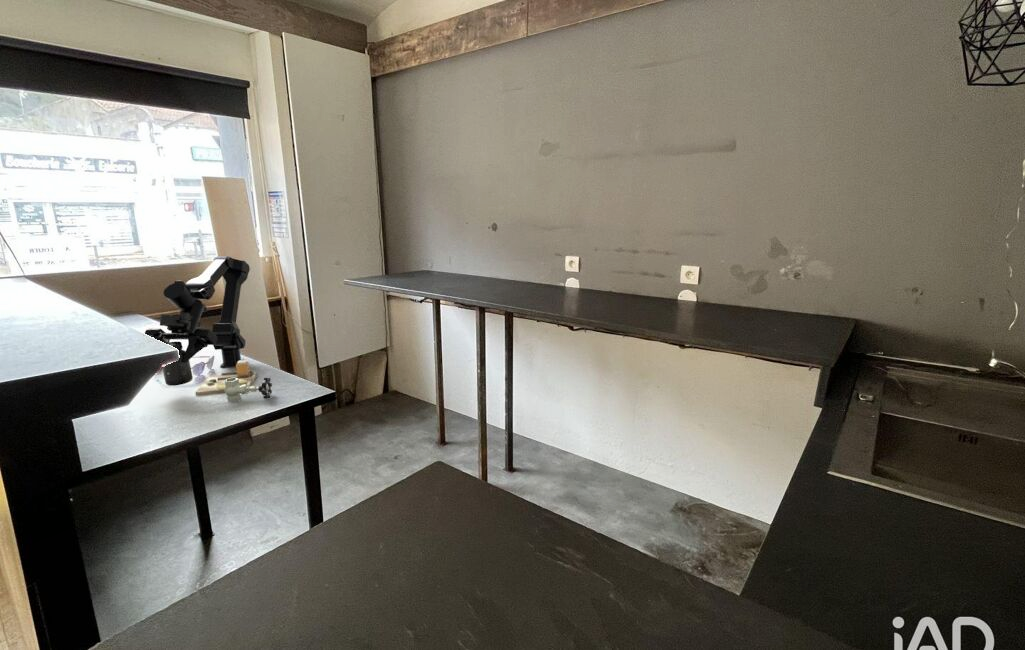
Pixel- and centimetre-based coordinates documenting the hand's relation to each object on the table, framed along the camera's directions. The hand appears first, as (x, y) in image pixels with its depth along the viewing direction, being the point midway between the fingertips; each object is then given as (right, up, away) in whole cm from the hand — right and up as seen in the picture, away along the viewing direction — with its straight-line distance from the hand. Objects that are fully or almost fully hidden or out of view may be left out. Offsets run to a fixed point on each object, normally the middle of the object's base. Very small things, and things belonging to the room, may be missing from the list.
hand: (171, 362), depth 142 cm
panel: (+9, -8, +13) cm, 18 cm away
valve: (+21, -12, +2) cm, 24 cm away
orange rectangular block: (+11, -6, +19) cm, 22 cm away
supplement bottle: (0, -6, +3) cm, 7 cm away
